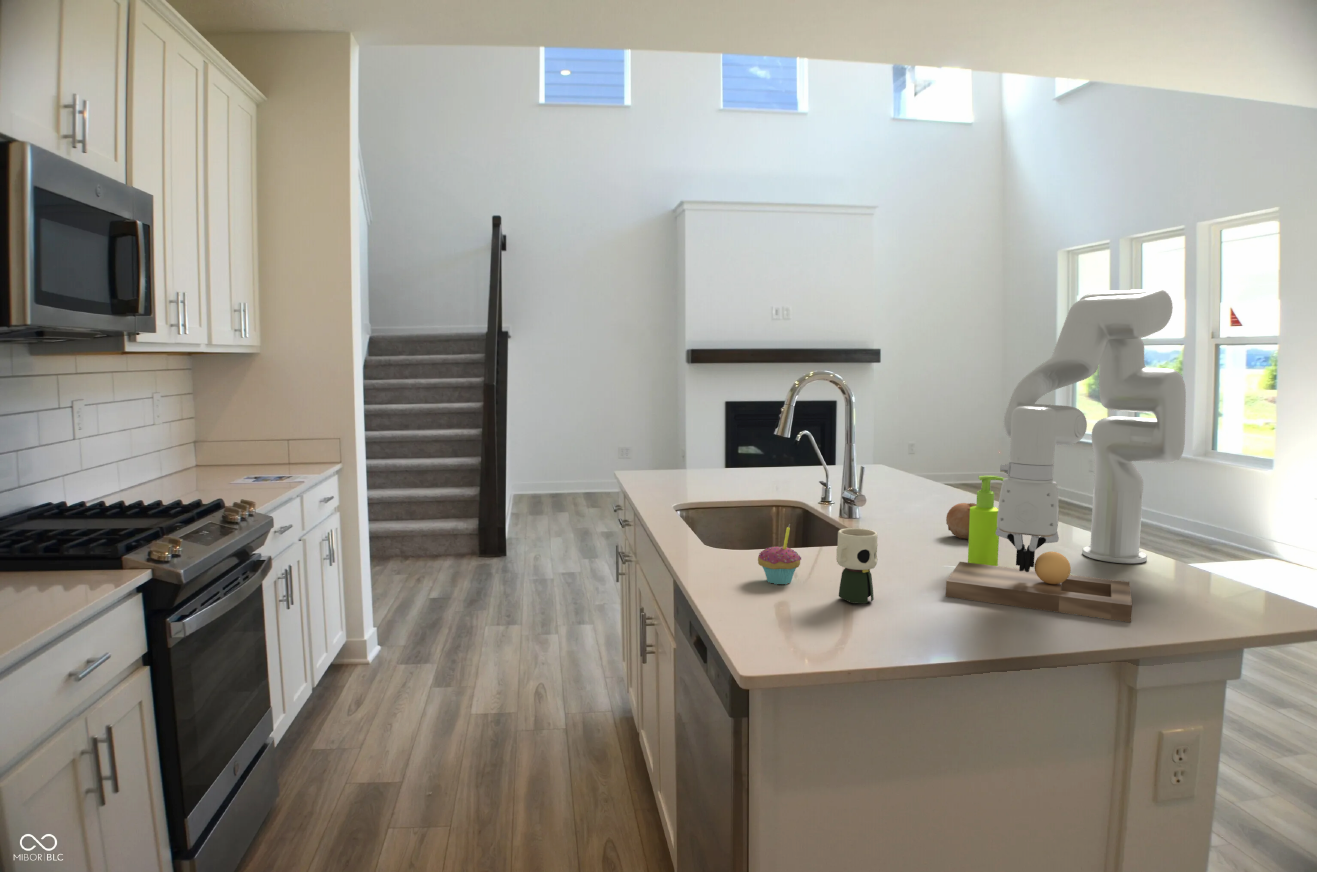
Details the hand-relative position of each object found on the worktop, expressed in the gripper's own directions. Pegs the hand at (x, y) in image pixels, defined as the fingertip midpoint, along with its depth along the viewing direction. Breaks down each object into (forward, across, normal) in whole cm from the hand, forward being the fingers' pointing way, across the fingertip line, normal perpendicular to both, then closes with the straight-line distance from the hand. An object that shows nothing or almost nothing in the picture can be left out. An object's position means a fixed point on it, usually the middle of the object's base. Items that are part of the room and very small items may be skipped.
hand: (1024, 569), depth 148 cm
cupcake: (+6, -44, -13) cm, 46 cm away
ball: (-1, +5, +1) cm, 5 cm away
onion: (+4, -17, +46) cm, 49 cm away
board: (+5, +2, +1) cm, 6 cm away
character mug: (+6, -27, -18) cm, 33 cm away
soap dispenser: (+5, -9, +17) cm, 20 cm away
